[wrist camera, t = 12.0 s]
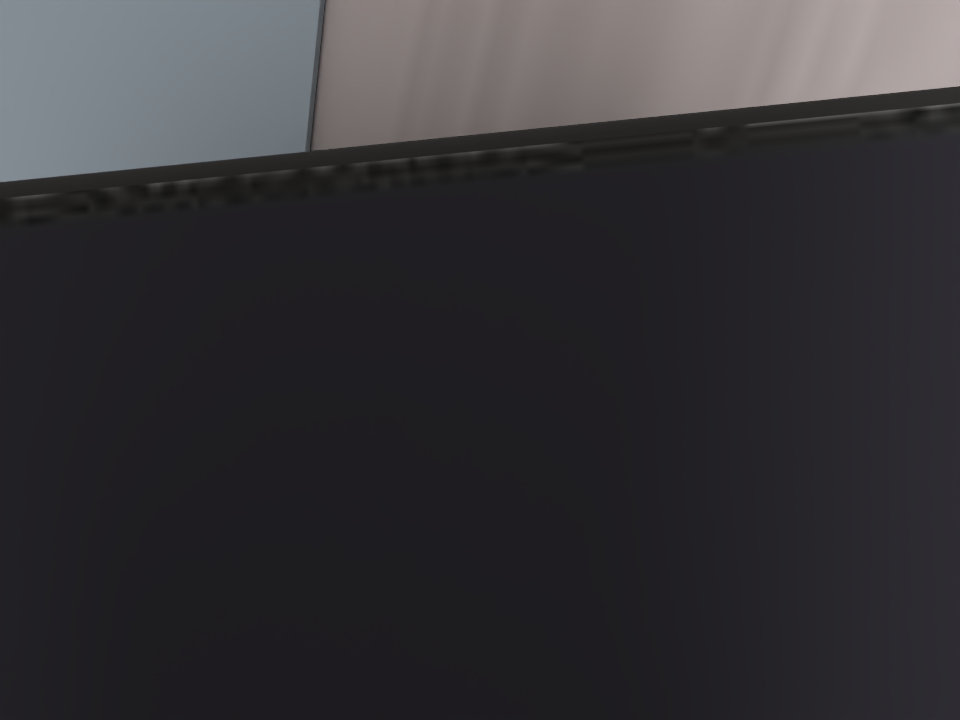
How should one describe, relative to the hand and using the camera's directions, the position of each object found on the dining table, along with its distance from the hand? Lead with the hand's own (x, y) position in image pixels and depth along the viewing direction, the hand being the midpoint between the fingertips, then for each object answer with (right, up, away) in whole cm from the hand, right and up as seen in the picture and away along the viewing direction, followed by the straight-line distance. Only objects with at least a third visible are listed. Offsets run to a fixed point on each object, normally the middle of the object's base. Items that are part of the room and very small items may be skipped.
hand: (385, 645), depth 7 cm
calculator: (+1, +3, +11) cm, 12 cm away
